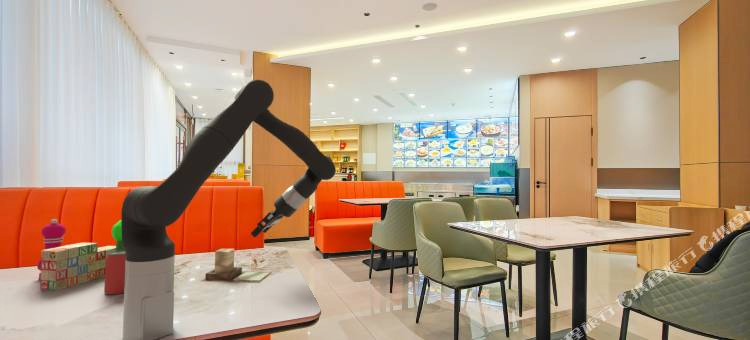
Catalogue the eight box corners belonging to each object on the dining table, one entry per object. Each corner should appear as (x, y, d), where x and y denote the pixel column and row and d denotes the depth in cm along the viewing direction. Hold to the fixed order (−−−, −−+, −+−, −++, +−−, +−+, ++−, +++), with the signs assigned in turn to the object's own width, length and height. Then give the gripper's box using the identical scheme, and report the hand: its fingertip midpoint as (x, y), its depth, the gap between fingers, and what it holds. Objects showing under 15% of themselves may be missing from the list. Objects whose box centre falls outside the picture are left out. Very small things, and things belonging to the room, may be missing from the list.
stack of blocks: (107, 270, 121) (109, 237, 121) (122, 271, 119) (123, 238, 120) (39, 289, 100) (40, 249, 100) (55, 291, 98) (57, 250, 99)
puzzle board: (272, 274, 117) (272, 266, 117) (259, 285, 105) (259, 276, 105) (219, 273, 118) (219, 265, 118) (200, 284, 106) (200, 274, 106)
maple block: (233, 274, 114) (234, 248, 114) (227, 278, 110) (228, 251, 110) (221, 273, 114) (221, 248, 115) (214, 277, 110) (215, 251, 110)
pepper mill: (43, 275, 113) (45, 218, 114) (70, 272, 116) (72, 217, 117) (32, 281, 107) (34, 220, 107) (60, 278, 110) (63, 219, 110)
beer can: (99, 292, 97) (101, 253, 97) (125, 286, 103) (126, 248, 103) (110, 297, 94) (112, 255, 94) (136, 290, 100) (137, 251, 100)
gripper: (289, 191, 119) (258, 222, 119) (276, 194, 105) (241, 229, 105) (303, 206, 119) (272, 237, 119) (292, 210, 104) (257, 245, 105)
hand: (258, 233), depth 112 cm, fingers open, 8 cm apart
